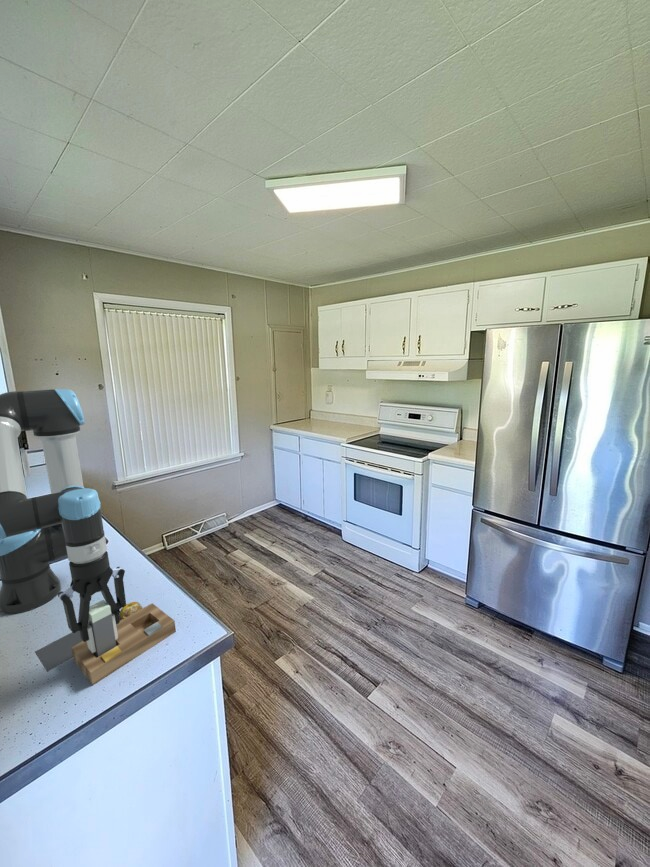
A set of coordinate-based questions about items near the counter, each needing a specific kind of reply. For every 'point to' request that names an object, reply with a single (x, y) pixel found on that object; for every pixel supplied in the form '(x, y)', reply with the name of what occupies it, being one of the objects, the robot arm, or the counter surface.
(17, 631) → the counter surface
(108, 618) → the plug
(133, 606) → the fruit
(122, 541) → the counter surface
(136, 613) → the socket block
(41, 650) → the mat
